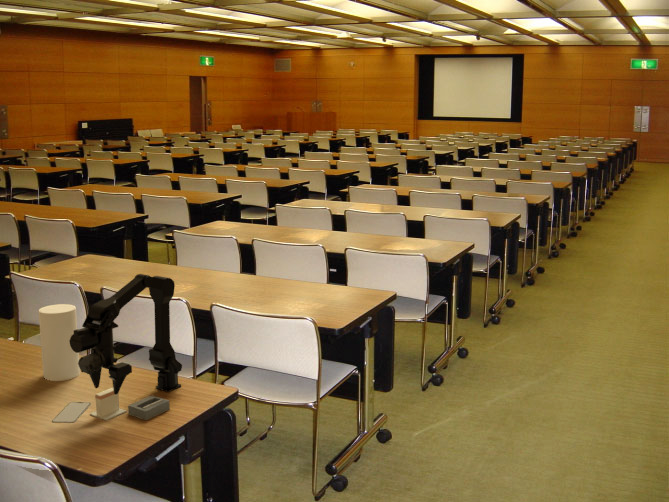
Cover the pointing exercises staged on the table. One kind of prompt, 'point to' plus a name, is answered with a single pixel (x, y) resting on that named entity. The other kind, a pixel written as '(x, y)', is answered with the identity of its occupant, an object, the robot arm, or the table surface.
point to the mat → (110, 415)
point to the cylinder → (58, 342)
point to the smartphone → (71, 412)
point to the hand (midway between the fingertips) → (106, 391)
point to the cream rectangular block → (106, 402)
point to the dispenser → (148, 407)
